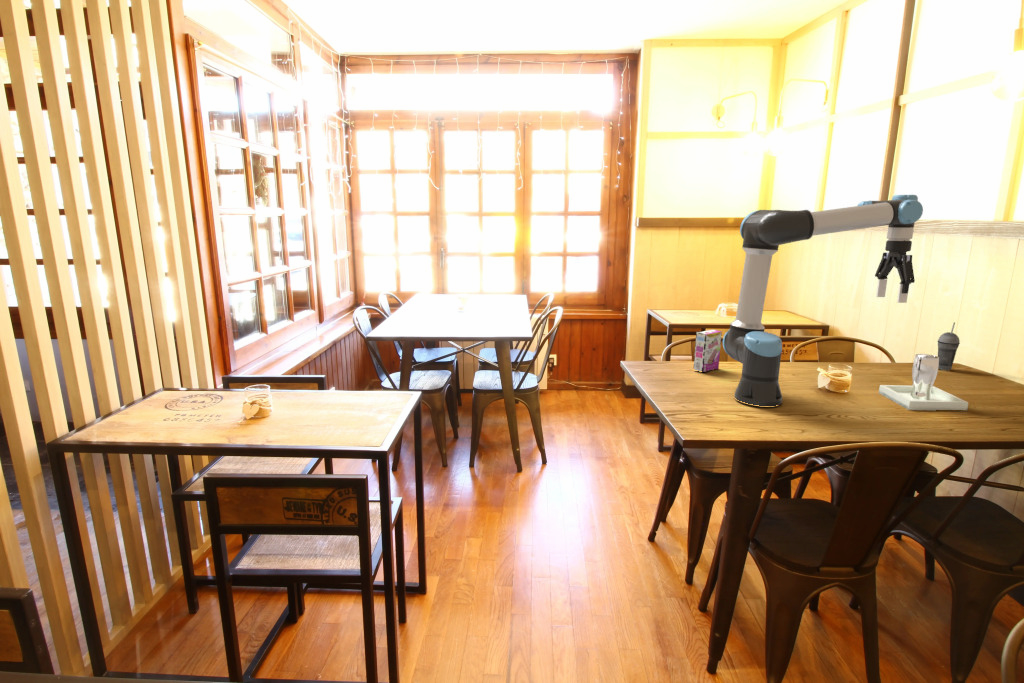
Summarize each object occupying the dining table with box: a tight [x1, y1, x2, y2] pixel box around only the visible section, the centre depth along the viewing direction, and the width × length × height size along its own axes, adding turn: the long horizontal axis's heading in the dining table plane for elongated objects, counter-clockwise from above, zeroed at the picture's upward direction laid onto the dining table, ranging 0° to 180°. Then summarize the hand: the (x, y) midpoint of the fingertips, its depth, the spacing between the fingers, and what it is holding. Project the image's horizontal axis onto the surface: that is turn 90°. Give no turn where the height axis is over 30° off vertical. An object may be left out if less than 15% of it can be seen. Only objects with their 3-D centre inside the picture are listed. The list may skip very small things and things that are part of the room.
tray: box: [878, 384, 969, 412], centre depth 192 cm, size 18×18×3 cm
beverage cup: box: [937, 322, 961, 371], centre depth 229 cm, size 7×7×20 cm
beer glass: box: [910, 353, 939, 401], centre depth 191 cm, size 7×7×15 cm
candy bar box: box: [693, 329, 723, 373], centre depth 231 cm, size 11×5×16 cm, turn 126°
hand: (890, 299), depth 202 cm, fingers open, 13 cm apart
